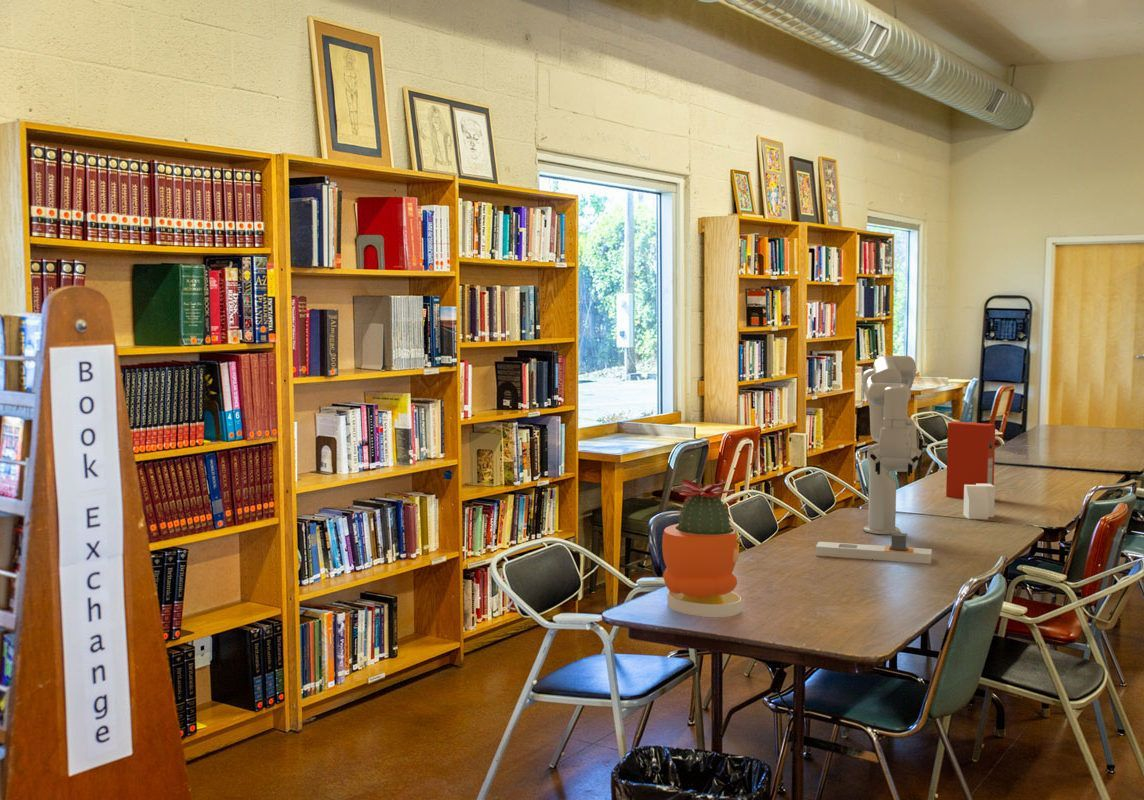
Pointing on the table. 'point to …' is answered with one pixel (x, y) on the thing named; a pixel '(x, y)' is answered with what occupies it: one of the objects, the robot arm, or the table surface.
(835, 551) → the rail
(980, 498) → the white upright cube
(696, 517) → the potted cactus
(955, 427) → the file binder
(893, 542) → the steel block
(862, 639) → the table surface
